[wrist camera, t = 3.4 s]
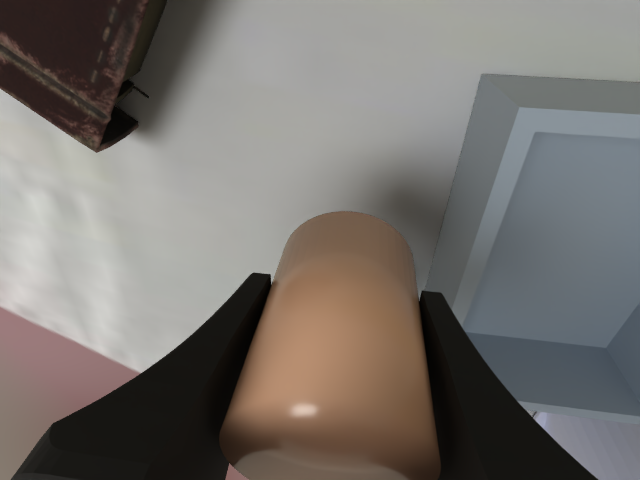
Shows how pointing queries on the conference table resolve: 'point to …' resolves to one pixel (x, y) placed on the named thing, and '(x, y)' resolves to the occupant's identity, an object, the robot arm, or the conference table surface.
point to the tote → (550, 242)
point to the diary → (77, 61)
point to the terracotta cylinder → (337, 363)
